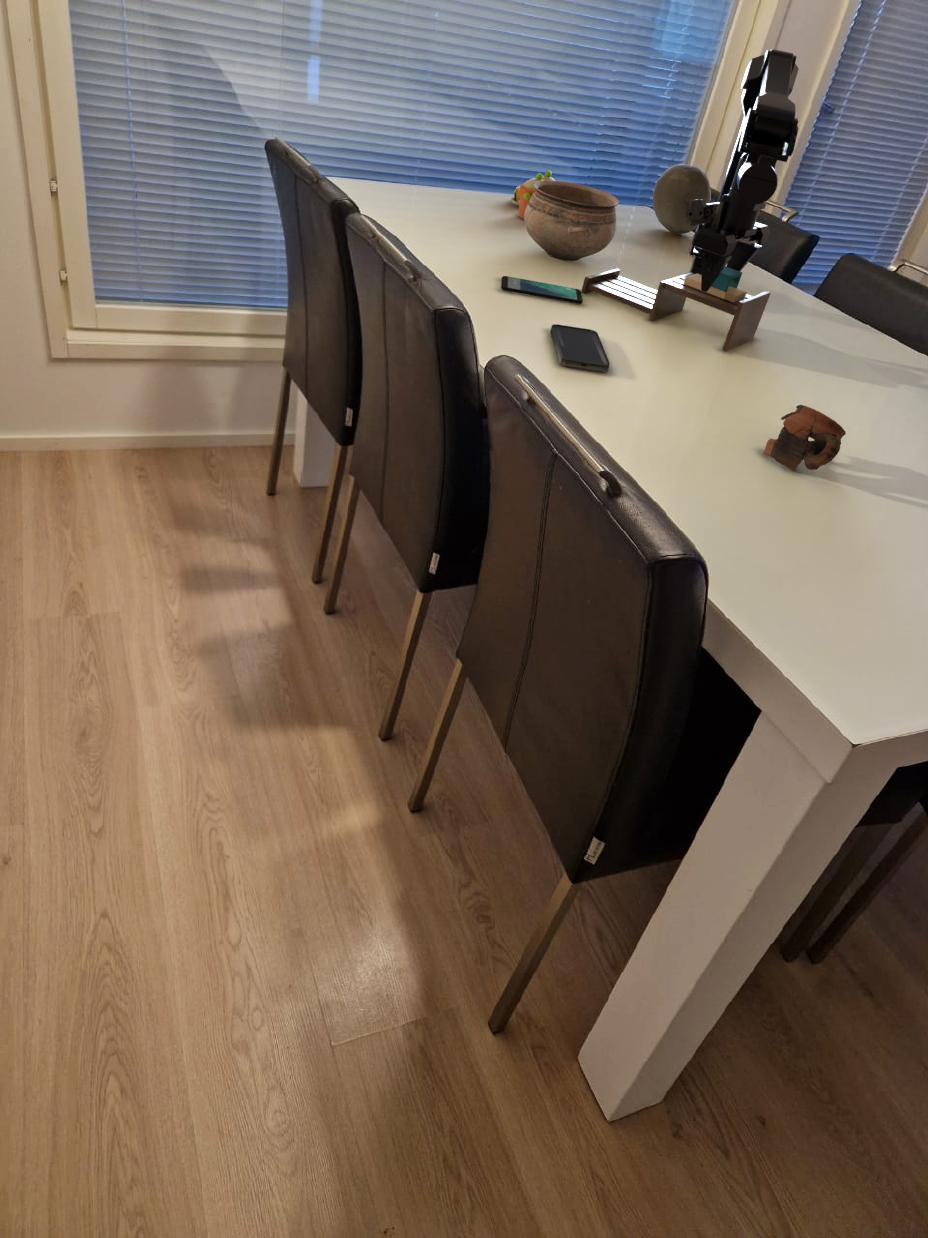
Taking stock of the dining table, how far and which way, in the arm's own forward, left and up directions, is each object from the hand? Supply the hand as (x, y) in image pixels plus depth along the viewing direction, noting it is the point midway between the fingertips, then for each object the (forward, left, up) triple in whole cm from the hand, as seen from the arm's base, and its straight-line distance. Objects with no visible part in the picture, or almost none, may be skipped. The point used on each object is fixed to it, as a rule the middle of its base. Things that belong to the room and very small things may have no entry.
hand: (715, 286), depth 153 cm
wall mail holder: (0, 0, -1) cm, 1 cm away
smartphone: (+14, -27, -8) cm, 31 cm away
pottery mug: (+36, +33, -8) cm, 50 cm away
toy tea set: (-36, -61, -8) cm, 72 cm away
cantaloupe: (-60, -39, -8) cm, 72 cm away
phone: (+32, -7, -8) cm, 34 cm away
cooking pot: (-11, -38, -8) cm, 41 cm away
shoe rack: (0, -8, -8) cm, 11 cm away
